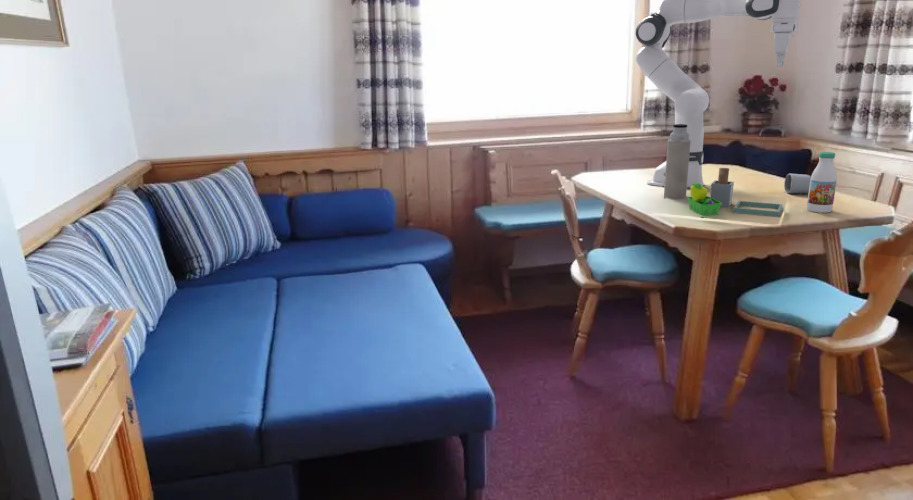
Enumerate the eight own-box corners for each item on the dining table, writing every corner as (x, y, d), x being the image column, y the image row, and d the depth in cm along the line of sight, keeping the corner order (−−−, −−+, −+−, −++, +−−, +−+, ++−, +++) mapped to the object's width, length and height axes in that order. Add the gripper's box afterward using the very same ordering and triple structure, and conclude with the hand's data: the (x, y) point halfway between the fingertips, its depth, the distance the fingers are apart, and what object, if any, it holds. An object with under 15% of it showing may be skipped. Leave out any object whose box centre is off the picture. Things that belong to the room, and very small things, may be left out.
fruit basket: (721, 217, 212) (725, 184, 208) (696, 219, 211) (699, 186, 208) (706, 210, 222) (709, 178, 219) (682, 211, 222) (684, 179, 218)
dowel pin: (715, 205, 224) (718, 169, 220) (716, 203, 227) (720, 167, 223) (724, 206, 222) (728, 169, 219) (726, 204, 225) (729, 168, 221)
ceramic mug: (812, 195, 239) (815, 175, 237) (789, 195, 240) (792, 175, 238) (801, 190, 249) (804, 170, 247) (779, 190, 250) (782, 170, 248)
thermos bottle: (663, 196, 244) (669, 123, 236) (685, 197, 242) (691, 123, 234) (663, 200, 237) (668, 125, 229) (685, 201, 235) (692, 125, 226)
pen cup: (709, 208, 224) (711, 183, 221) (712, 204, 229) (714, 180, 226) (728, 210, 221) (731, 185, 218) (731, 206, 226) (733, 181, 223)
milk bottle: (801, 208, 220) (809, 151, 214) (822, 207, 221) (830, 150, 215) (815, 213, 213) (823, 154, 207) (837, 212, 213) (846, 153, 207)
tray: (732, 215, 214) (733, 207, 214) (738, 207, 224) (738, 200, 223) (778, 219, 207) (779, 211, 207) (781, 211, 217) (782, 204, 216)
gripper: (776, 28, 240) (771, 65, 244) (773, 27, 223) (768, 67, 227) (794, 27, 237) (789, 65, 241) (793, 26, 220) (788, 67, 224)
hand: (779, 66), depth 234 cm, fingers open, 8 cm apart
